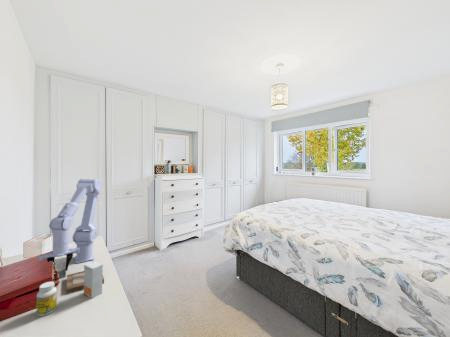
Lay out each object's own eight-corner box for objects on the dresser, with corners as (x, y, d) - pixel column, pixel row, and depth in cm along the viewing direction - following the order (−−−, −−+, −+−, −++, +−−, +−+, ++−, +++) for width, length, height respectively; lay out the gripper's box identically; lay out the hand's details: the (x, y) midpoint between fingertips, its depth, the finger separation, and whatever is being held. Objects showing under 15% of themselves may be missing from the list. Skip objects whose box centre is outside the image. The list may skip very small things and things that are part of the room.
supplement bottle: (59, 304, 75) (60, 279, 75) (50, 315, 70) (51, 288, 69) (42, 306, 74) (43, 280, 73) (32, 317, 68) (32, 289, 68)
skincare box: (83, 294, 81) (83, 264, 81) (94, 288, 85) (94, 260, 85) (91, 299, 78) (92, 268, 78) (102, 293, 82) (103, 264, 82)
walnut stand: (66, 279, 91) (66, 274, 91) (100, 270, 99) (100, 266, 99) (66, 294, 81) (66, 289, 81) (103, 283, 89) (103, 278, 89)
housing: (54, 273, 95) (55, 259, 95) (65, 271, 98) (65, 257, 97) (54, 279, 90) (54, 264, 90) (65, 276, 93) (65, 262, 93)
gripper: (38, 249, 86) (38, 280, 86) (80, 242, 95) (79, 270, 95) (40, 243, 92) (39, 273, 92) (79, 237, 101) (79, 264, 101)
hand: (60, 271), depth 94 cm, fingers closed on housing, 4 cm apart
